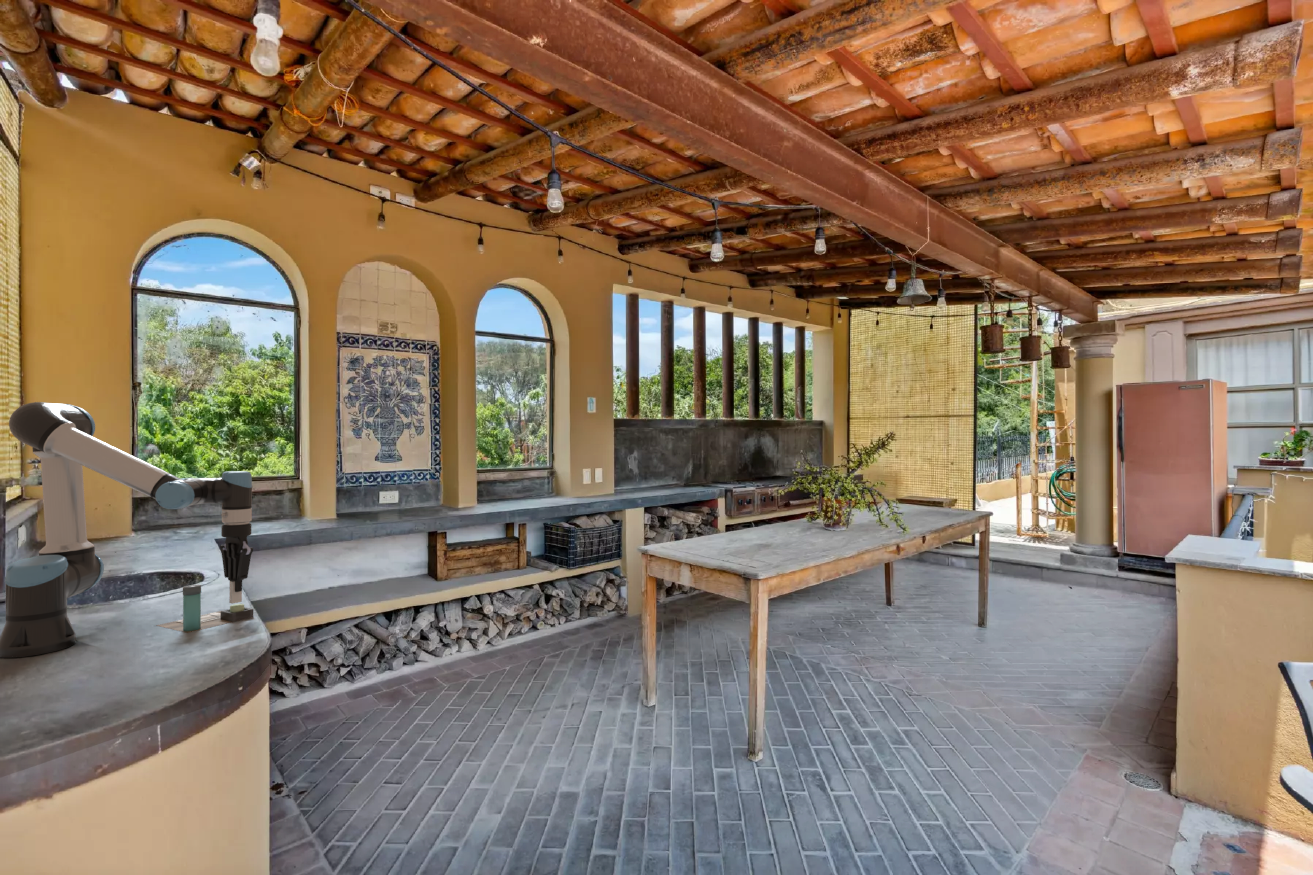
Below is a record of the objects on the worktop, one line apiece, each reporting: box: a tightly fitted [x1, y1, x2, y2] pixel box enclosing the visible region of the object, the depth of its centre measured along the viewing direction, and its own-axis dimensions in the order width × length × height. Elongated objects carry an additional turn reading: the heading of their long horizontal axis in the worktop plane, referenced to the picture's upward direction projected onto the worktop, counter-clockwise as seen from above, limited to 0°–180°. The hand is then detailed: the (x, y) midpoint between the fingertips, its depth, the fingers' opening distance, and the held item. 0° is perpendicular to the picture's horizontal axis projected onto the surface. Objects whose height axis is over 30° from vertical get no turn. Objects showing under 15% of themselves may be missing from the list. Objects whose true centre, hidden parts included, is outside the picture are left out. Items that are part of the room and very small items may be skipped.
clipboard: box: [155, 606, 254, 634], centre depth 191 cm, size 16×18×4 cm
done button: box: [229, 603, 245, 613], centre depth 194 cm, size 4×4×3 cm
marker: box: [182, 584, 202, 632], centre depth 182 cm, size 4×4×12 cm
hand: (235, 602), depth 194 cm, fingers closed
